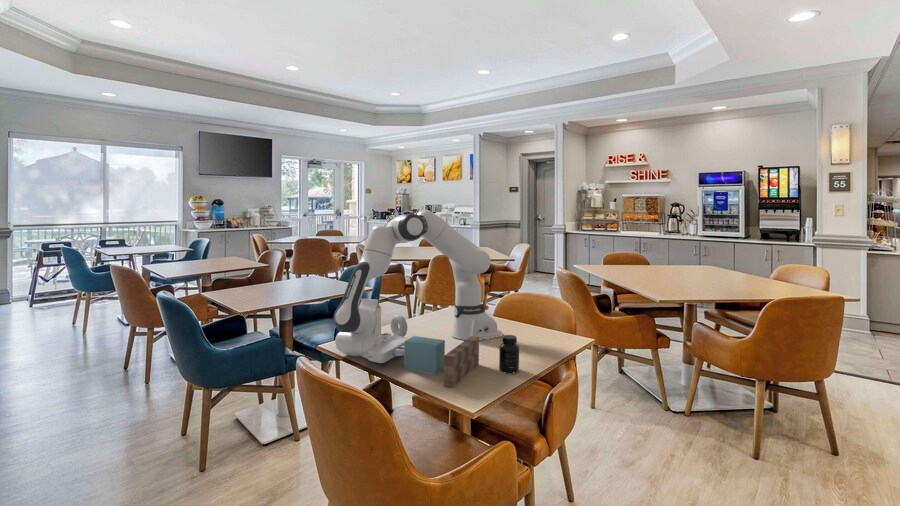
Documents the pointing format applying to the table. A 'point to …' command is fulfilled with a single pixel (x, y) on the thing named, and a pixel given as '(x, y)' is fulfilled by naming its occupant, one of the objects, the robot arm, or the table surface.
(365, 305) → the milk carton
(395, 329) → the donut
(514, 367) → the supplement bottle
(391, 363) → the table surface
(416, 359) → the teal block
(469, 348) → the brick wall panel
